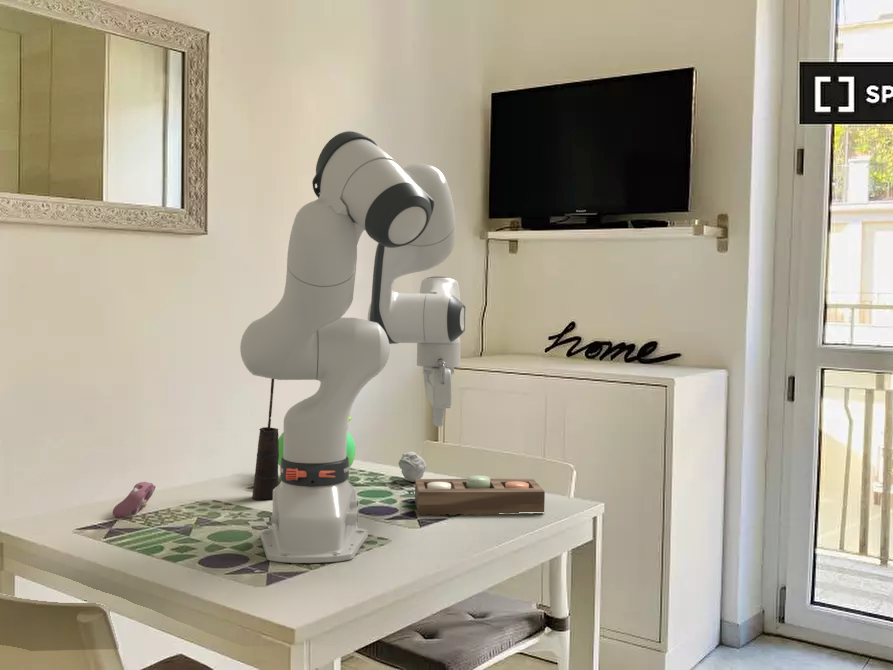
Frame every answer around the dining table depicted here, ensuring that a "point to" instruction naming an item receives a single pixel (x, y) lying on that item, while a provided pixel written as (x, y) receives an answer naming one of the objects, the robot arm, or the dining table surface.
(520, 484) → the terracotta button
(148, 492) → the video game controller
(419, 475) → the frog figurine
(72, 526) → the dining table surface
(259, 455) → the butter churn
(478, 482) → the sage button
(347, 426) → the robot arm
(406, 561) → the dining table surface
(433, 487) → the cream button
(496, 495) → the button panel
